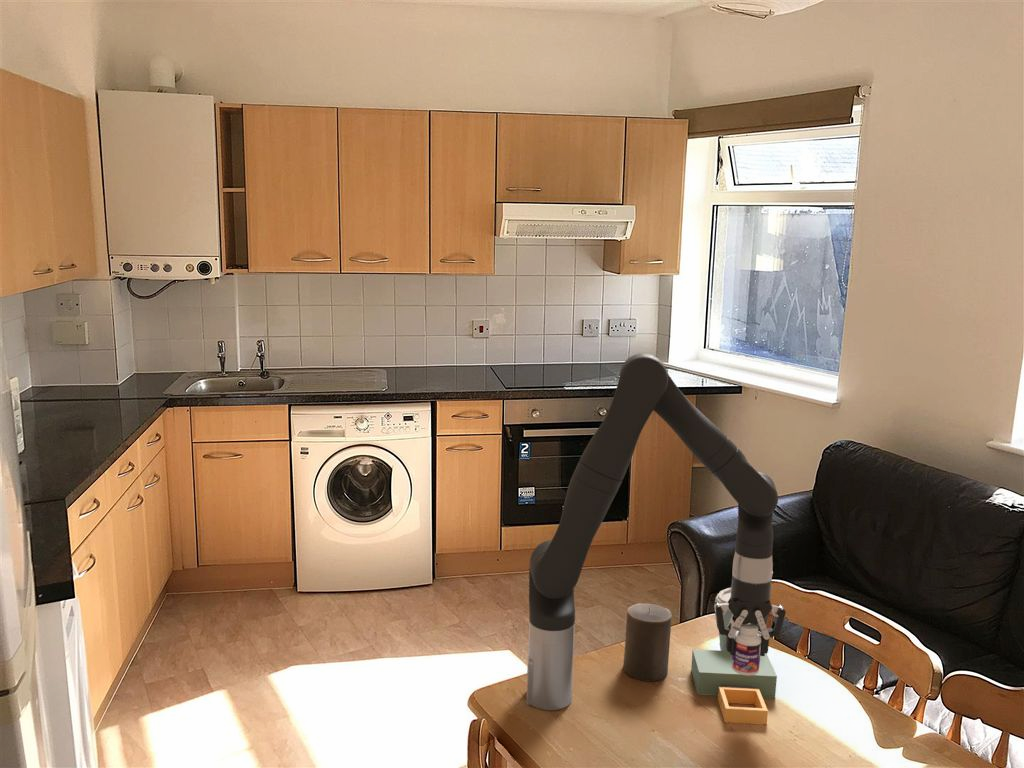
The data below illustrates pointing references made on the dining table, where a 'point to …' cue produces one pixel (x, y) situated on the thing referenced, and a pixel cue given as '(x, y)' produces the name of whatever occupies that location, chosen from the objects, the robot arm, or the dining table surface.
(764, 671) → the green slab
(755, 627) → the pill bottle
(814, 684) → the dining table surface
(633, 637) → the pillar candle
